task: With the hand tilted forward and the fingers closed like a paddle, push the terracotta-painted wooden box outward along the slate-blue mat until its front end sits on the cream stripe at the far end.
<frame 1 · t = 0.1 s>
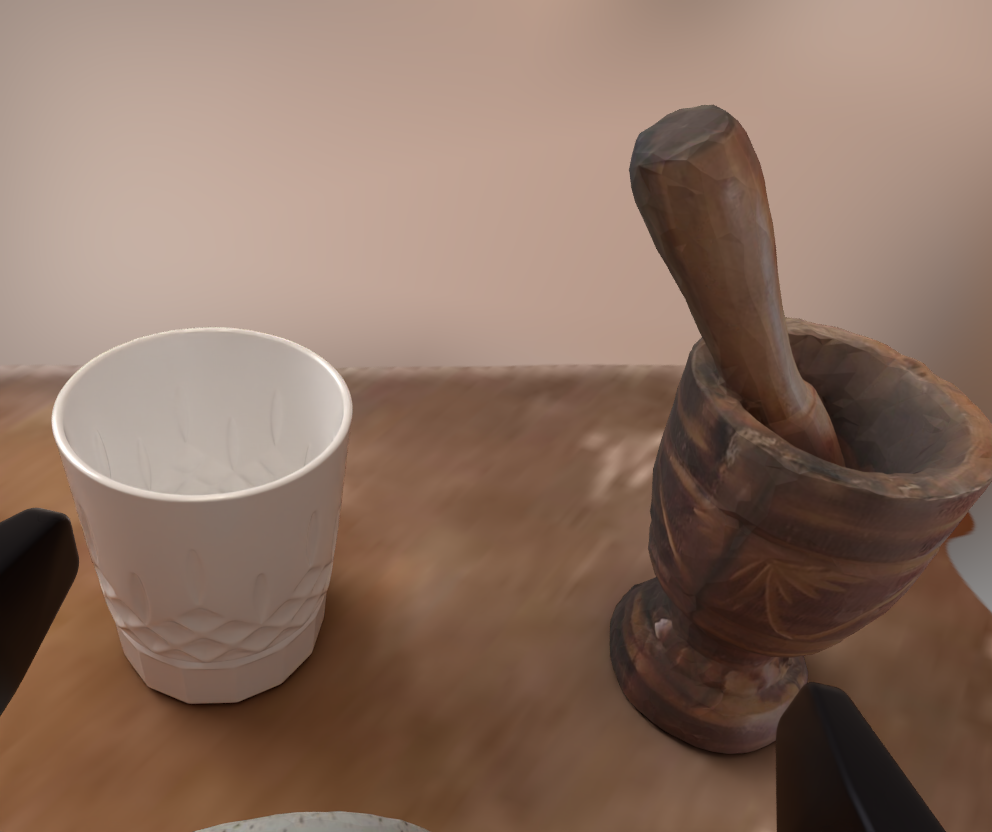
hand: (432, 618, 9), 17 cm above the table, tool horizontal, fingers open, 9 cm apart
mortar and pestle: (660, 675, 29), on the table
white cup: (226, 625, 28), on the table
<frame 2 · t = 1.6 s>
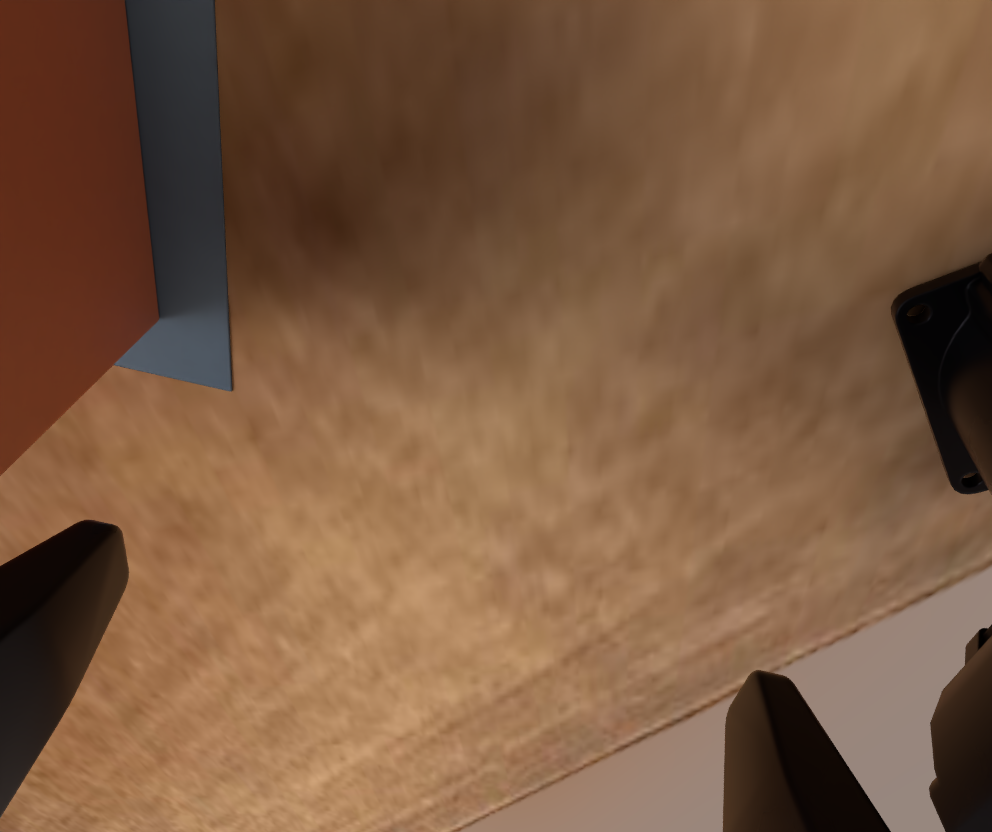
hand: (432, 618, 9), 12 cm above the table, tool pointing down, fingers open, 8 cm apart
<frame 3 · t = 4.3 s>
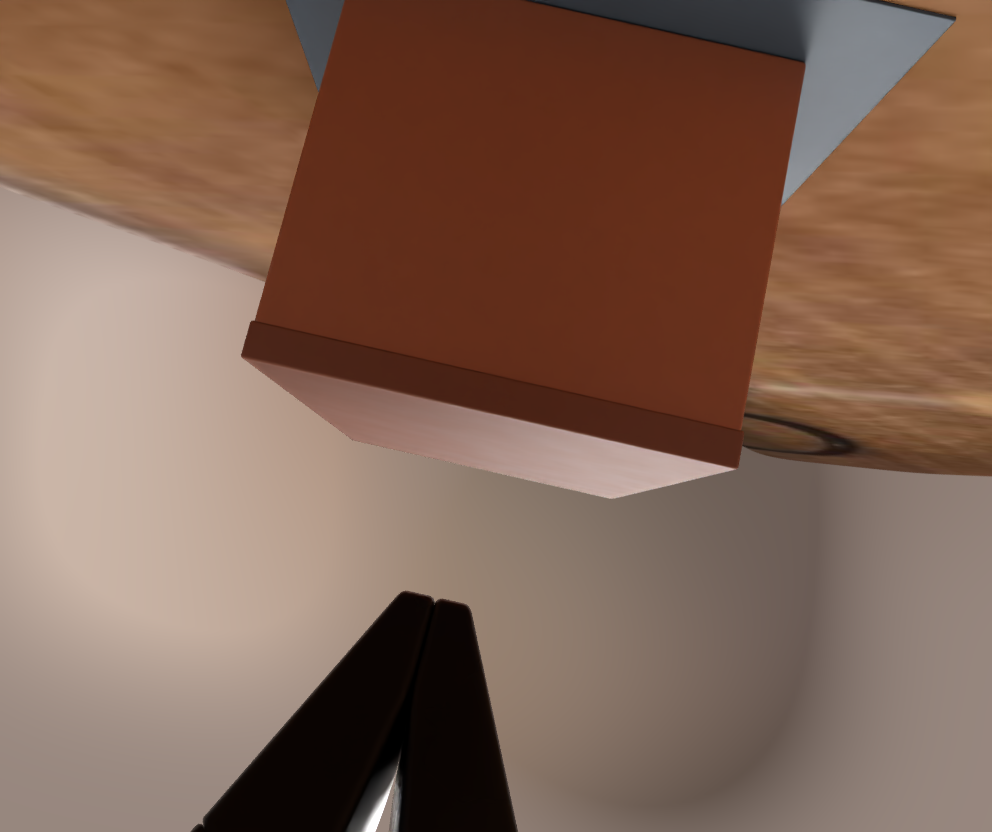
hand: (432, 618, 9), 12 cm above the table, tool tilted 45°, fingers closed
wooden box: (549, 162, 24), on the table, touching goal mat
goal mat: (540, 209, 27), on the table
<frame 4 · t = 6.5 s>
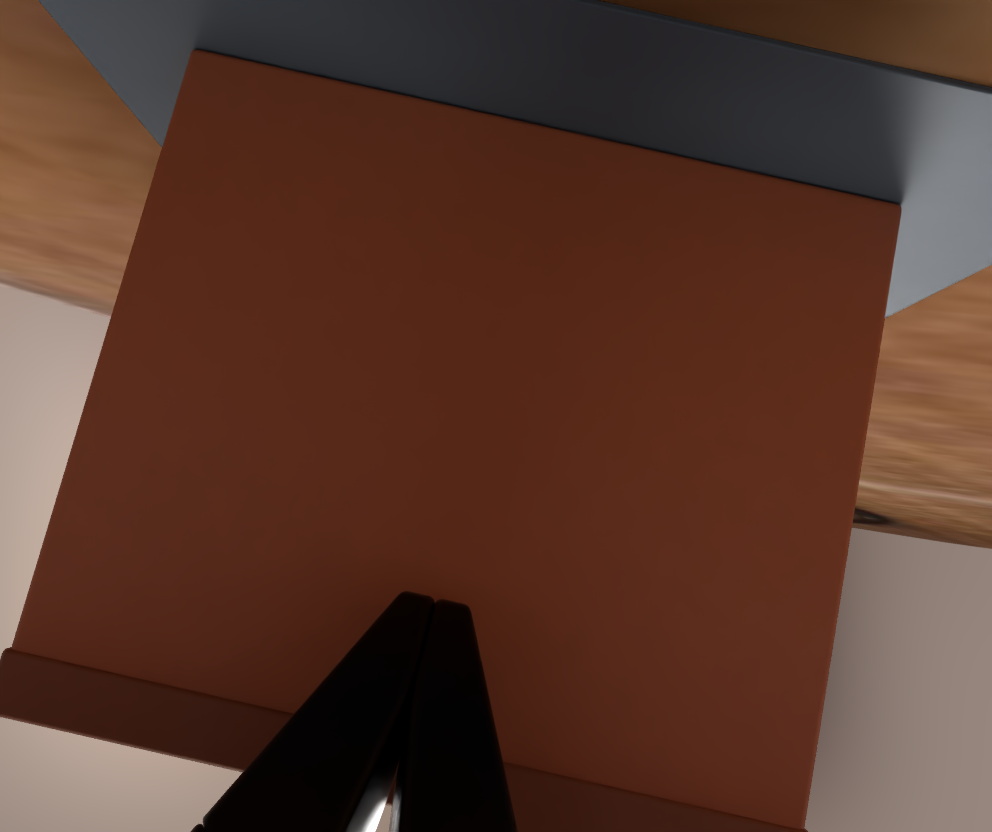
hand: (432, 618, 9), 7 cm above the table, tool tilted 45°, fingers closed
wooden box: (519, 281, 18), on the table, touching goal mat
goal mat: (513, 315, 20), on the table
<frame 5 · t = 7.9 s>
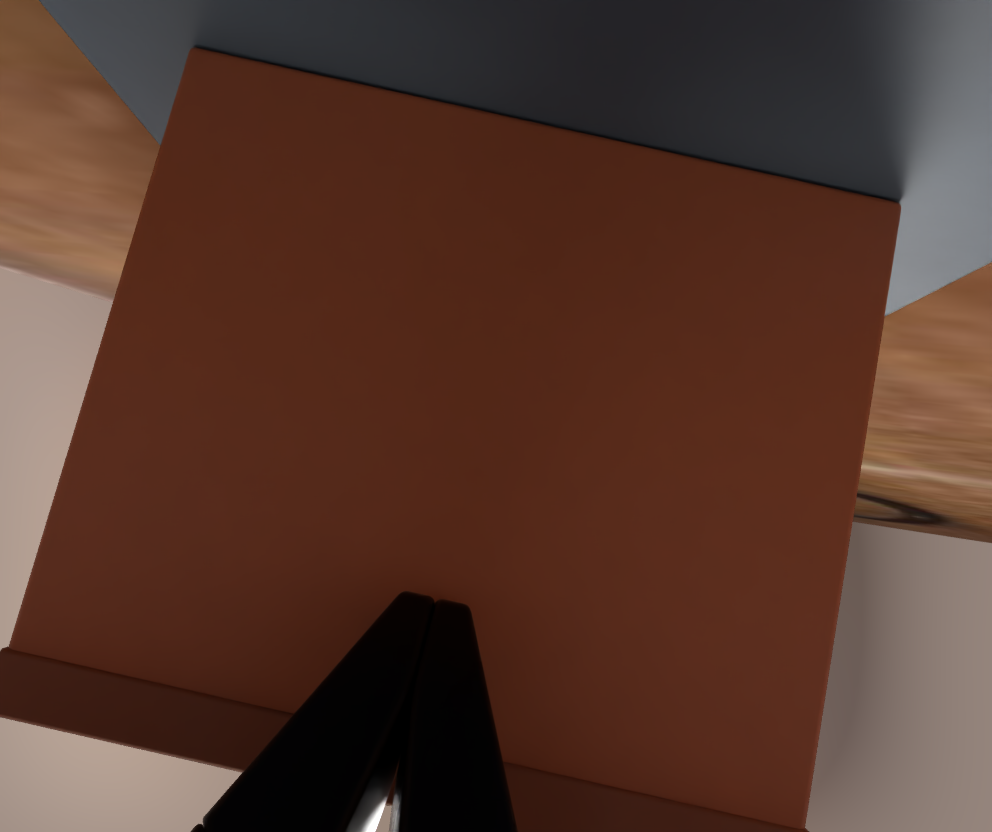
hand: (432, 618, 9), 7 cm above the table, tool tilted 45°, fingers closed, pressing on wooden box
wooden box: (519, 281, 18), on the table, touching gripper
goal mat: (526, 237, 15), on the table
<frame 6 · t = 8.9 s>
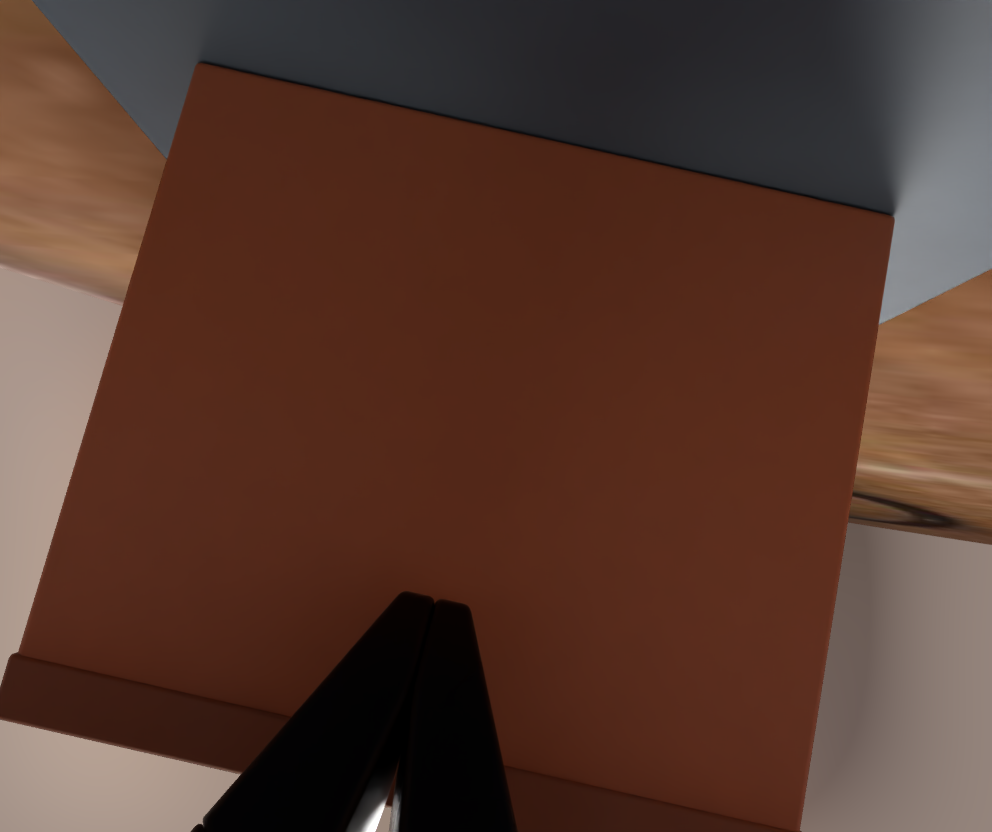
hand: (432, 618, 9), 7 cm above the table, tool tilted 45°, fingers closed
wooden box: (518, 288, 18), on the table, touching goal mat
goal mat: (529, 222, 14), on the table
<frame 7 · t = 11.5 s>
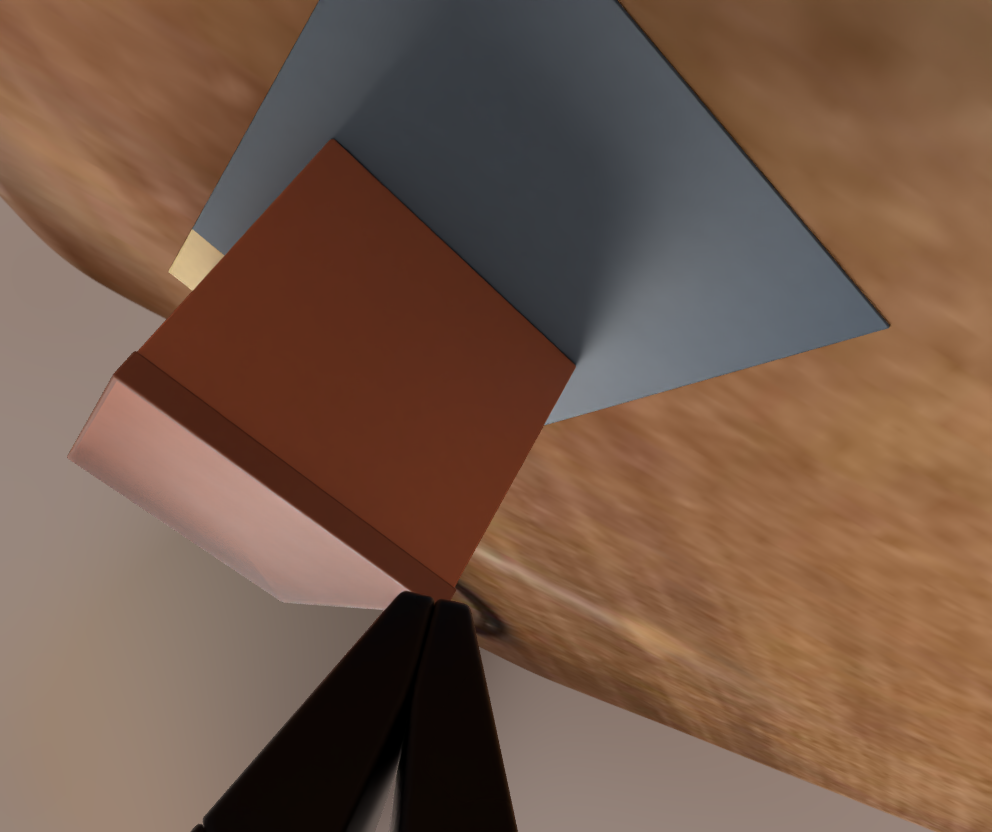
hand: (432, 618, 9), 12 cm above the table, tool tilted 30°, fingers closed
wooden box: (370, 323, 29), on the table, touching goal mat
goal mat: (416, 290, 26), on the table
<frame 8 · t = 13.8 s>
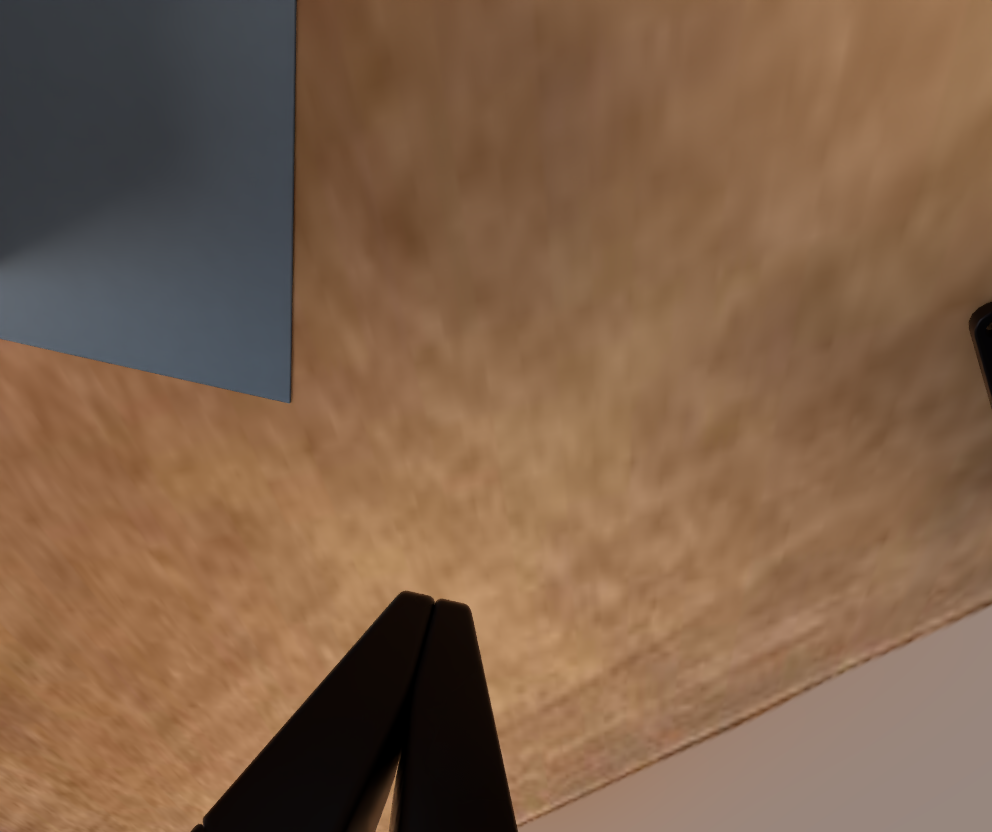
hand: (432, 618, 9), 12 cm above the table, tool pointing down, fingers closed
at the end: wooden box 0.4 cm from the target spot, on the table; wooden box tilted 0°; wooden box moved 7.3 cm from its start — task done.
